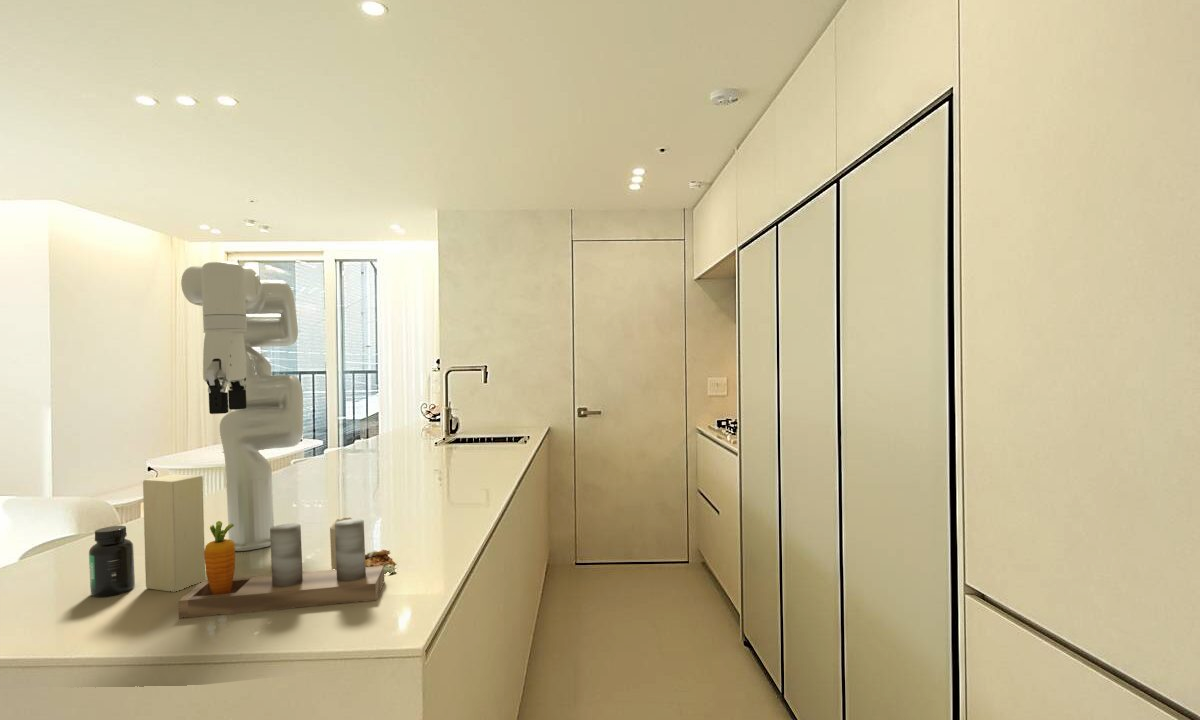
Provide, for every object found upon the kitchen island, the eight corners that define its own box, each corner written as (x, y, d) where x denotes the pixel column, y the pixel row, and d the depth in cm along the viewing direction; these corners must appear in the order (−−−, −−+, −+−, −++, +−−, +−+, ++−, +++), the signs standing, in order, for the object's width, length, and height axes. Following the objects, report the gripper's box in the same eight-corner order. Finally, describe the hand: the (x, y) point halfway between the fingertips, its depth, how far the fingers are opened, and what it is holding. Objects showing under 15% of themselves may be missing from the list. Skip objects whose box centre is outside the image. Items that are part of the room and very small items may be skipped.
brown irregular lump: (378, 580, 129) (377, 563, 129) (350, 568, 137) (349, 551, 137) (410, 571, 134) (409, 554, 134) (381, 559, 142) (380, 543, 142)
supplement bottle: (86, 600, 122) (84, 535, 122) (94, 589, 128) (92, 527, 128) (131, 593, 125) (129, 530, 125) (137, 582, 131) (135, 522, 131)
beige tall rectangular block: (210, 579, 131) (206, 474, 131) (175, 592, 124) (171, 481, 124) (180, 576, 134) (176, 472, 134) (145, 588, 127) (140, 480, 127)
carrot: (214, 599, 120) (210, 517, 120) (243, 598, 120) (239, 516, 120) (200, 610, 115) (196, 525, 115) (230, 608, 116) (226, 523, 115)
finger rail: (203, 596, 122) (200, 526, 122) (384, 581, 127) (381, 513, 127) (178, 618, 112) (175, 542, 112) (375, 600, 117) (373, 527, 117)
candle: (350, 572, 133) (348, 522, 133) (325, 571, 134) (324, 522, 134) (365, 563, 139) (363, 515, 138) (341, 562, 140) (339, 515, 139)
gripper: (221, 327, 139) (225, 408, 139) (185, 323, 122) (189, 416, 122) (260, 326, 140) (263, 406, 141) (229, 322, 123) (232, 414, 123)
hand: (228, 411), depth 131 cm, fingers open, 9 cm apart
